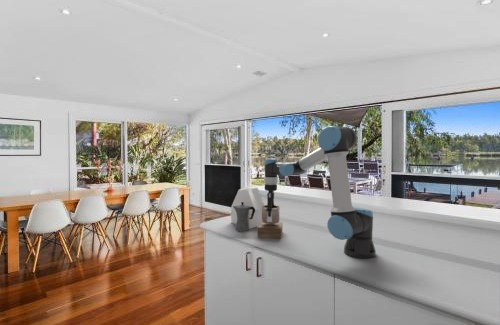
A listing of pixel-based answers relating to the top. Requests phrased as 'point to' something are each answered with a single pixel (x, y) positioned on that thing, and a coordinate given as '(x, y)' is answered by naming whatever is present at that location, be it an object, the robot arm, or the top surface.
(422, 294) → the top surface
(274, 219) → the planter
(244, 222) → the coffeepot
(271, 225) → the plinth
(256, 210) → the white slotted block
